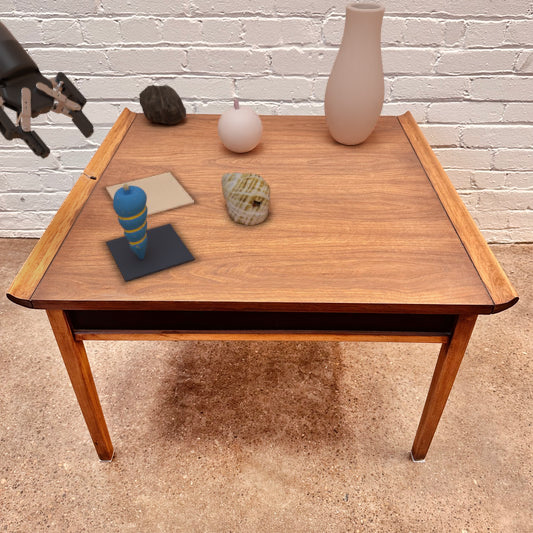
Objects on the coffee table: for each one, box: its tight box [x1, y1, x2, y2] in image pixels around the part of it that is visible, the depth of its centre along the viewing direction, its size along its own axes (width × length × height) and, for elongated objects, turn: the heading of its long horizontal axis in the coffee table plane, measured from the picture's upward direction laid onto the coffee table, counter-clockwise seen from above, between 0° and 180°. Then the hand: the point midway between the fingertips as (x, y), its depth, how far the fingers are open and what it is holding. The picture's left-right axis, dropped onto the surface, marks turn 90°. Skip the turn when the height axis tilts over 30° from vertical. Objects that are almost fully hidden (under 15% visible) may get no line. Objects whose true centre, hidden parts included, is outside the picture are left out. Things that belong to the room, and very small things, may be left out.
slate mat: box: [105, 223, 196, 283], centre depth 83 cm, size 12×12×1 cm
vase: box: [323, 1, 386, 146], centre depth 110 cm, size 14×14×30 cm
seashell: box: [220, 172, 271, 226], centre depth 92 cm, size 10×10×10 cm
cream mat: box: [105, 171, 195, 217], centre depth 98 cm, size 14×14×1 cm
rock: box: [138, 84, 187, 125], centre depth 125 cm, size 10×11×10 cm
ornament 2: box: [217, 98, 264, 154], centre depth 111 cm, size 10×10×12 cm
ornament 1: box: [112, 182, 148, 259], centre depth 76 cm, size 5×5×15 cm
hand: (69, 144), depth 74 cm, fingers open, 8 cm apart
